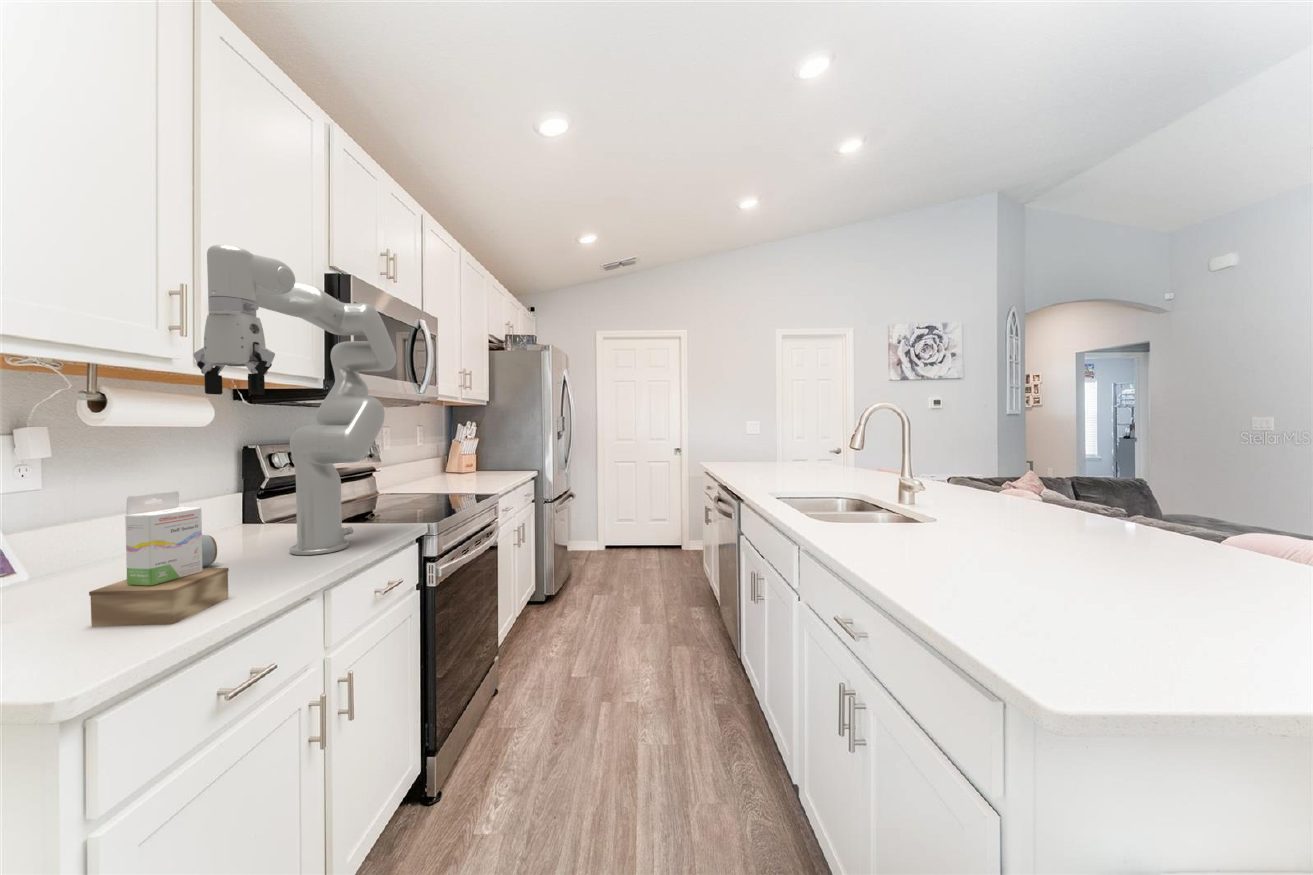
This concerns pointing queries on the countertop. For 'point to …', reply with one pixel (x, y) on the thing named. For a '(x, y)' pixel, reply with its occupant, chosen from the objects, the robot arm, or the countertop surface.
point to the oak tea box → (158, 599)
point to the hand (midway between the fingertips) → (235, 394)
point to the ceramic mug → (208, 550)
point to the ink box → (161, 539)
